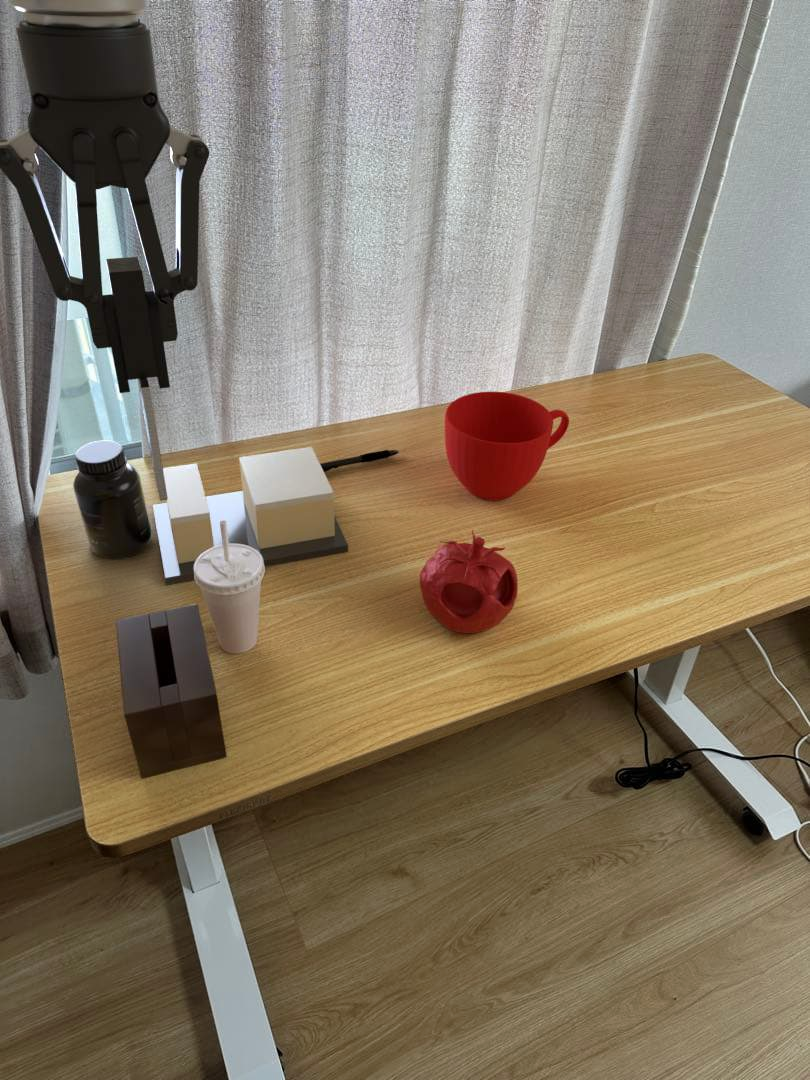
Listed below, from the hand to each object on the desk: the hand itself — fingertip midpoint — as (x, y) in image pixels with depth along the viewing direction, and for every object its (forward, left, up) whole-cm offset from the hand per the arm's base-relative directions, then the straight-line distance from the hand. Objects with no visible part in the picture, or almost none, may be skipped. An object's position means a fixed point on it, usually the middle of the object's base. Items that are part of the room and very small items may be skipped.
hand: (143, 382), depth 62 cm
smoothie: (+5, -1, -28) cm, 29 cm away
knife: (0, 0, -9) cm, 9 cm away
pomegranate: (+28, -4, -28) cm, 40 cm away
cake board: (+9, +16, -28) cm, 34 cm away
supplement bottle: (-5, +18, -28) cm, 34 cm away
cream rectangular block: (+2, +16, -27) cm, 32 cm away
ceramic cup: (+42, +17, -28) cm, 53 cm away
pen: (+24, +26, -28) cm, 45 cm away
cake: (+13, +16, -28) cm, 35 cm away
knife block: (-2, -9, -28) cm, 29 cm away
